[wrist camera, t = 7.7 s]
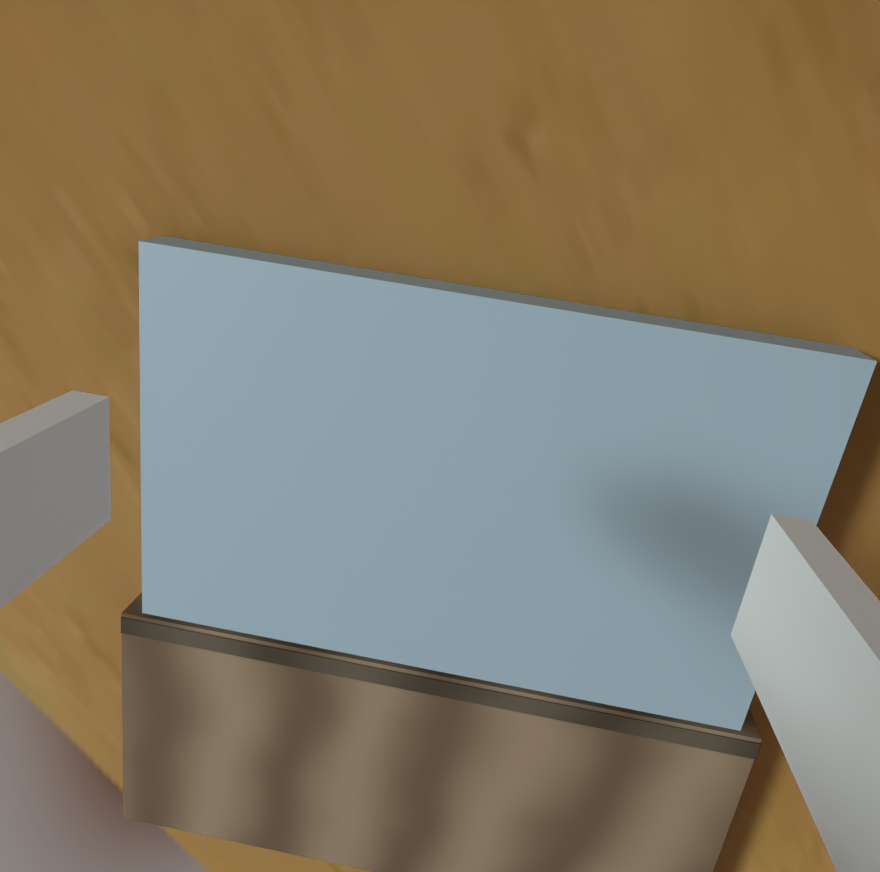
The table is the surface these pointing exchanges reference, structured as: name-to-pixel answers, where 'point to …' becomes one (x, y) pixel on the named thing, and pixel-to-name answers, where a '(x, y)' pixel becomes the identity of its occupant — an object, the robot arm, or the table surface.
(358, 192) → the table surface
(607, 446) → the plank
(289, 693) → the floor board
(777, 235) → the table surface
